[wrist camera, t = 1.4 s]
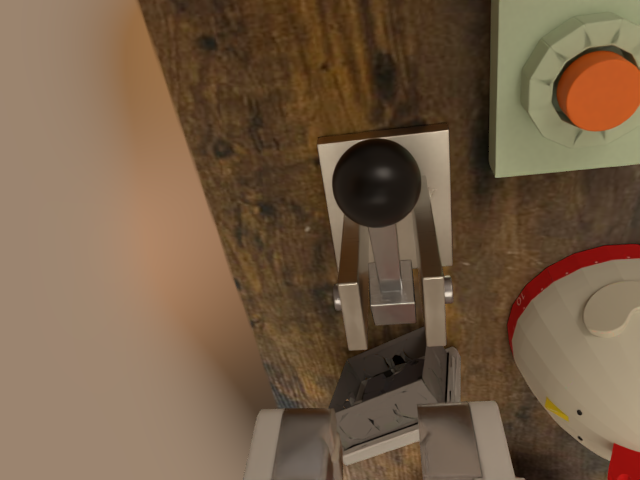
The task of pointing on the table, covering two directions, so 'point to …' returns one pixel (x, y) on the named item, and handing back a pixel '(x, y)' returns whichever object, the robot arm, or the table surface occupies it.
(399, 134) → the switch bracket
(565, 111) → the button
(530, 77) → the control block
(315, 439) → the robot arm
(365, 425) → the electrical switch
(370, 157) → the switch lever
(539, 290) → the kitchen timer
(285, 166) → the table surface
